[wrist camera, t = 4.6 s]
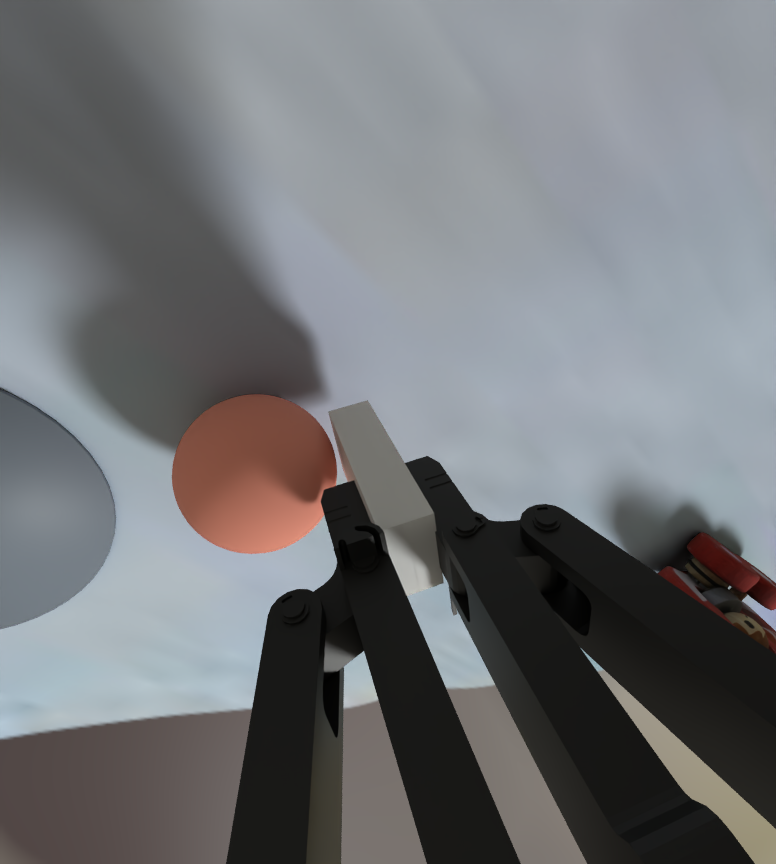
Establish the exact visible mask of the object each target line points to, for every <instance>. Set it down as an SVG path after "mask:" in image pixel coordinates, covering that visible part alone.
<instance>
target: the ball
mask: <svg viewBox="0 0 776 864" xmlns="http://www.w3.org/2000/svg"><path fill="white" fill-rule="evenodd" d="M336 478H337V466H336V458H335V454H334V450H333V447H332V444H331V442H330V440H329V438H328V435H327V434H326V432H325V431H324V429H323V428H322V426H321V425H320V424H319V423H318V421H317V420H316V419H315V418H314V417H313V416H312V415H311V414H309V413H308V412H307V411H306V410H304V409H303V408H301V407H300V406H298V405H296V404H294V403H292V402H290V401H288V400H285V399H282V398H279V397H275V396H271V395H262V394H250V395H242V396H237V397H234V398H230V399H227V400H224V401H222V402H220V403H218V404H216V405H214V406H212V407H211V408H209V409H208V410H206V411H205V412H204V413H202V414H201V415H200V416H199V417H198V418H197V419H196V420H195V421H194V422H193V423H192V424H191V425H190V426H189V428H188V429H187V431H186V432H185V434H184V435H183V437H182V439H181V441H180V443H179V445H178V447H177V450H176V453H175V457H174V461H173V469H172V484H173V490H174V495H175V498H176V501H177V504H178V507H179V509H180V511H181V512H182V514H183V516H184V517H185V519H186V520H187V522H188V523H189V524H190V525H191V527H192V528H193V529H194V530H195V531H196V532H197V533H198V534H200V535H201V536H202V537H203V538H205V539H206V540H208V541H209V542H211V543H213V544H215V545H216V546H219V547H221V548H224V549H227V550H230V551H234V552H239V553H249V554H255V553H266V552H272V551H276V550H279V549H282V548H285V547H287V546H289V545H291V544H293V543H295V542H296V541H298V540H300V539H301V538H303V537H304V536H305V535H306V534H308V533H309V532H310V531H311V530H312V529H313V528H314V527H315V526H316V525H317V524H318V523H319V522H320V520H321V519H322V517H323V516H324V512H323V508H322V505H321V498H322V495H323V491H324V489H328V488H331V487H334V486H336Z"/></svg>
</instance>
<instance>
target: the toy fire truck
mask: <svg viewBox="0 0 776 864" xmlns="http://www.w3.org/2000/svg"><path fill="white" fill-rule="evenodd" d="M687 549H688V551H689V552H690V553H691V554H692V555H693V556H694V557H693V558H692V559H690V560H688V563H687V564H686V565H685V568H686V569H687V570H688V571H686V570H685V571H679V570H677V569H675V568H673V567H670V566H667V567H665V568H664V569H663V570H661V571H660V572H659V573H658V574H659V575H660V576H662V577H663V578H665V579H666V580H667V581H669V582H670V583H672V584H673V585H675V586H676V587H678V588H679V589H681V590H682V591H684V592H685V593H687V594H688V595H689V596H691V597H692V598H694V599H695V600H697V601H698V602H700V603H701V604H703V605H704V606H706V607H707V608H709V609H710V610H711V611H713V612H714V613H716V614H717V615H719V616H720V617H722V618H723V619H725V620H726V621H728V622H729V623H731V624H732V625H733V626H735V627H736V628H738V629H739V630H741V631H742V632H744V633H745V634H747V635H748V636H750V637H751V638H753V639H754V640H755V641H757V642H758V643H760V644H761V645H763V646H764V647H766V648H767V649H769V650H770V651H772V652H773V653H775V654H776V631H775V630H774V629H773V628H772V627H771V626H770V625H768V624H767V623H766V622H765V621H764V620H763V619H762V618H761V617H760V616H759V615H758V614H757V613H756V612H754V611H753V610H752V609H751V608H750V607H749V606H748V605H746V604H745V603H744V602H742V600H743V599H744V598H745V597H746V596H747V594H748V595H749V596H750V597H751V598H753V599H754V600H755V601H757V602H758V603H760V604H761V605H762V606H764V607H765V608H767V609H769V610H774V609H776V583H775V582H774V581H772V580H771V579H770V578H769V577H767V576H766V575H765V574H764V573H762V572H761V571H760V570H758V569H757V568H756V567H754V566H753V565H752V564H750V563H749V562H747V561H746V560H744V559H743V558H742V557H740V556H738V555H737V554H734V553H732V552H731V551H730V550H729V549H727V548H726V547H725V546H723V545H722V544H721V543H719V542H718V541H717V540H715V539H714V538H713V537H711V536H710V535H708V534H706V533H704V532H701V533H699V534H698V535H697V536H695V537H694V538H693V539H692V540H691V541H690V542H689V543H688V545H687ZM729 586H731V588H730V589H728V587H729Z"/></svg>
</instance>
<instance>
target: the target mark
mask: <svg viewBox="0 0 776 864" xmlns="http://www.w3.org/2000/svg"><path fill="white" fill-rule="evenodd" d="M115 523H116V515H115V505H114V500H113V497H112V493H111V490H110V487H109V484H108V482H107V480H106V478H105V476H104V474H103V472H102V470H101V469H100V467H99V466H98V464H97V463H96V461H95V460H94V458H93V457H92V456H91V454H90V453H89V452H88V451H87V450H86V449H85V447H84V446H83V445H82V444H81V443H80V442H79V441H78V440H77V439H76V438H75V437H74V436H73V435H72V434H71V433H70V432H68V431H67V430H66V429H65V428H64V427H63V426H61V425H60V424H59V423H58V422H57V421H55V420H54V419H52V418H51V417H49V416H48V415H46V414H45V413H43V412H42V411H41V410H39V409H38V408H36V407H34V406H33V405H31V404H29V403H27V402H25V401H23V400H21V399H20V398H18V397H16V396H14V395H12V394H10V393H8V392H6V391H3V390H1V389H0V629H3V628H7V627H11V626H15V625H18V624H21V623H23V622H26V621H29V620H32V619H34V618H37V617H39V616H41V615H43V614H45V613H47V612H50V611H52V610H54V609H55V608H57V607H59V606H60V605H62V604H63V603H65V602H67V601H68V600H70V599H71V598H72V597H74V596H75V595H76V594H77V593H79V592H80V591H81V590H82V589H83V588H84V587H85V586H86V585H87V584H88V583H89V582H90V581H91V580H92V579H93V578H94V577H95V575H96V574H97V573H98V571H99V570H100V568H101V567H102V566H103V564H104V562H105V560H106V558H107V556H108V554H109V552H110V548H111V545H112V541H113V538H114V534H115Z"/></svg>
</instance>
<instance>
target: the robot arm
mask: <svg viewBox="0 0 776 864" xmlns="http://www.w3.org/2000/svg"><path fill="white" fill-rule="evenodd" d="M328 413H329V416H330V420H331V424H332V428H333V432H334V436H335V440H336V443H337V447H338V451H339V455H340V459H341V463H342V467H343V471H344V473H345V476H346V478H347V481H348V482H347V483H343V484H340V485H337V486H334V487H331V488H328V489H324V491H323V495H322V498H321V505H322V508H323V512H324V515H325V519H326V522H327V526H328V529H329V532H330V536H331V539H332V543H333V546H334V551H335V555H336V558H337V567H336V570H335V572H334V574H333V576H332V577H331V578H330V579H329V581H327V582H326V583H325V584H324V585H323V586H321V587H320V588H318V589H317V590H315V591H314V592H312V591H310V590H308V589H296V590H293V591H290V592H287V593H286V594H284V595H283V596H281V597H280V598H278V599H277V600H276V602H275V603H274V604H273V605H272V606H271V609H270V612H269V614H268V618H267V624H266V630H265V636H264V642H263V648H262V654H261V660H260V666H259V672H258V678H257V684H256V690H255V696H254V702H253V708H252V713H251V719H250V725H249V731H248V737H247V743H246V749H245V755H244V761H243V767H242V773H241V779H240V785H239V791H238V797H237V803H236V808H235V815H234V821H233V826H232V832H231V838H230V845H229V850H228V856H227V862H226V864H341V832H342V831H341V830H342V829H341V828H342V762H343V761H342V760H343V695H344V666H345V665H346V664H347V663H349V662H350V661H351V660H353V659H354V658H355V657H356V656H358V655H359V654H360V653H362V652H363V651H364V652H365V655H366V659H367V662H368V666H369V669H370V672H371V676H372V679H373V683H374V686H375V689H376V693H377V696H378V699H379V703H380V706H381V710H382V713H383V716H384V720H385V723H386V727H387V730H388V733H389V737H390V740H391V743H392V747H393V750H394V754H395V757H396V760H397V764H398V767H399V771H400V774H401V777H402V780H403V784H404V787H405V791H406V794H407V798H408V801H409V804H410V808H411V811H412V814H413V818H414V821H415V825H416V828H417V831H418V835H419V838H420V842H421V845H422V848H423V852H424V855H425V858H426V862H427V864H521V863H520V861H519V859H518V857H517V854H516V852H515V849H514V847H513V845H512V843H511V840H510V838H509V836H508V833H507V831H506V829H505V826H504V824H503V821H502V819H501V817H500V814H499V812H498V810H497V807H496V805H495V802H494V800H493V798H492V795H491V793H490V791H489V789H488V786H487V784H486V781H485V779H484V777H483V774H482V772H481V770H480V767H479V765H478V763H477V760H476V758H475V755H474V753H473V751H472V748H471V746H470V744H469V741H468V739H467V737H466V734H465V732H464V730H463V727H462V725H461V722H460V720H459V718H458V715H457V713H456V711H455V708H454V706H453V704H452V702H451V699H450V697H449V694H448V692H447V690H446V687H445V685H444V682H443V680H442V678H441V675H440V673H439V671H438V668H437V666H436V664H435V661H434V659H433V657H432V654H431V652H430V650H429V647H428V645H427V643H426V640H425V638H424V635H423V633H422V631H421V628H420V626H419V624H418V621H417V619H416V617H415V614H414V612H413V610H412V607H411V605H410V603H409V600H408V598H407V596H409V595H412V594H414V593H417V592H420V591H423V590H425V589H428V588H431V587H434V586H437V585H439V584H442V583H444V582H443V575H442V572H443V574H444V576H445V578H446V580H447V582H448V584H449V592H450V599H451V607H452V612H453V615H456V614H457V611H458V612H459V614H460V616H461V618H462V620H463V622H464V624H465V626H466V628H467V630H468V632H469V634H470V636H471V638H472V640H473V642H474V644H475V646H476V648H477V650H478V651H479V653H480V655H481V657H482V659H483V661H484V663H485V665H486V667H487V669H488V671H489V673H490V675H491V677H492V679H493V681H494V683H495V685H496V687H497V688H498V691H499V692H500V694H501V696H502V698H503V700H504V702H505V704H506V706H507V708H508V710H509V712H510V714H511V716H512V718H513V720H514V722H515V724H516V725H517V728H518V730H519V731H520V733H521V735H522V737H523V739H524V741H525V743H526V745H527V747H528V749H529V751H530V753H531V755H532V757H533V759H534V761H535V763H536V764H537V767H538V768H539V770H540V772H541V774H542V776H543V778H544V780H545V782H546V784H547V786H548V788H549V790H550V792H551V794H552V796H553V798H554V800H555V802H556V803H557V806H558V807H559V809H560V811H561V813H562V815H563V817H564V819H565V821H566V823H567V825H568V827H569V829H570V831H571V833H572V835H573V837H574V839H575V841H576V843H577V845H578V846H579V848H580V850H581V852H582V854H583V856H584V858H585V860H586V862H587V864H755V863H754V862H753V861H752V859H751V858H750V857H749V855H748V854H747V852H746V851H745V850H744V849H743V847H742V846H741V844H740V843H739V842H738V840H737V839H736V838H735V836H734V835H733V834H732V832H731V831H730V830H729V829H728V828H727V826H726V825H725V824H724V823H723V822H722V820H721V819H719V817H718V816H717V815H716V814H715V813H714V812H713V811H711V810H710V809H709V808H708V807H707V806H705V805H703V804H701V803H699V802H697V801H695V800H692V799H691V798H690V797H689V796H688V795H687V794H685V792H684V791H683V790H682V789H681V787H680V786H679V785H678V784H677V782H676V781H675V779H674V778H673V777H672V775H671V774H670V773H669V771H668V770H667V768H666V767H665V766H664V764H663V763H662V761H661V760H660V759H659V758H658V756H657V754H656V753H655V752H654V750H653V749H652V747H651V746H650V745H649V743H648V742H647V741H646V739H645V738H644V736H643V735H642V733H641V732H640V731H639V729H638V728H637V726H636V725H635V724H634V722H633V721H632V719H631V718H630V717H629V715H628V714H627V713H626V711H625V710H624V708H623V707H622V706H621V704H620V703H619V701H618V700H617V699H616V697H615V696H614V695H613V693H612V692H611V690H610V689H609V687H608V686H607V685H606V683H605V682H604V681H603V679H602V678H601V676H600V675H599V673H598V672H597V671H596V669H595V668H594V666H593V665H592V664H591V662H590V661H589V660H588V658H587V657H586V655H585V654H584V653H583V651H582V650H581V649H583V650H584V651H585V652H586V653H587V654H588V655H589V656H590V657H591V658H592V659H593V660H594V661H595V662H597V663H598V664H599V665H600V666H601V667H602V668H603V669H604V670H605V671H606V672H608V674H610V675H611V676H612V677H613V678H614V679H615V680H616V681H617V682H618V683H619V684H620V685H621V686H622V687H624V688H625V689H626V690H627V691H628V692H629V693H630V694H631V695H632V696H633V697H634V698H636V700H638V701H639V702H640V703H641V704H642V705H643V706H644V707H645V708H646V709H647V710H648V711H649V712H650V713H652V714H653V715H654V716H655V717H656V718H657V719H658V720H659V721H660V722H661V723H662V724H663V725H665V726H666V727H667V728H668V729H669V730H670V731H671V732H672V733H673V734H674V735H675V736H676V737H677V738H679V739H680V740H681V741H682V742H683V743H684V744H685V745H686V746H687V747H688V748H689V749H691V751H693V752H694V753H695V754H696V755H697V756H698V757H699V758H700V759H701V760H702V761H703V762H704V763H706V764H707V765H708V766H709V767H710V768H711V769H712V770H713V771H714V772H715V773H716V774H717V775H718V776H720V777H721V778H722V779H723V780H724V781H725V782H726V783H727V784H728V785H729V786H730V787H731V788H732V789H734V790H735V791H736V792H737V793H738V794H739V795H740V796H741V797H742V798H743V799H744V800H745V801H746V802H748V803H749V804H750V805H751V806H752V807H753V808H754V809H755V810H756V811H757V812H758V813H759V814H761V815H762V816H763V817H764V818H765V819H766V820H767V821H768V822H769V823H770V824H771V825H772V826H773V827H774V828H776V654H775V653H773V652H772V651H770V650H769V649H767V648H766V647H764V646H763V645H761V644H760V643H758V642H757V641H755V640H754V639H753V638H751V637H750V636H748V635H747V634H745V633H744V632H742V631H741V630H739V629H738V628H736V627H735V626H733V625H732V624H731V623H729V622H728V621H726V620H725V619H723V618H722V617H720V616H719V615H717V614H716V613H714V612H713V611H711V610H710V609H709V608H707V607H706V606H704V605H703V604H701V603H700V602H698V601H697V600H695V599H694V598H692V597H691V596H689V595H688V594H687V593H685V592H684V591H682V590H681V589H679V588H678V587H676V586H675V585H673V584H672V583H670V582H669V581H667V580H666V579H665V578H663V577H662V576H660V575H659V574H657V573H656V572H654V571H653V570H651V569H650V568H648V567H647V566H645V565H644V564H643V563H641V562H640V561H638V560H637V559H635V558H634V557H632V556H631V555H629V554H628V553H626V552H625V551H623V550H622V549H621V548H619V547H618V546H616V545H615V544H613V543H612V542H610V541H609V540H607V539H606V538H604V537H603V536H601V535H600V534H599V533H597V532H596V531H594V530H593V529H591V528H590V527H588V526H587V525H585V524H584V523H582V522H581V521H579V520H578V519H577V518H575V517H574V516H572V515H571V514H569V513H568V512H566V511H565V510H563V509H561V508H559V507H557V506H553V505H547V504H542V505H535V506H532V507H529V508H528V509H526V510H525V511H524V512H523V513H522V516H521V519H520V520H517V521H504V522H502V521H491V520H488V519H487V518H486V517H485V516H483V515H482V514H480V513H477V512H475V511H473V510H472V509H471V507H470V506H469V504H468V503H467V502H466V500H465V499H464V497H463V496H462V494H461V493H460V491H459V490H458V489H457V487H456V486H455V484H454V483H453V482H452V480H451V479H450V477H449V476H448V474H446V471H445V470H444V469H443V467H442V466H441V464H440V463H439V462H437V461H435V460H434V459H432V458H430V457H428V456H426V457H423V458H420V459H416V460H413V461H410V462H407V463H404V461H403V459H402V458H401V456H400V454H399V453H398V451H397V449H396V448H395V446H394V444H393V442H392V441H391V439H390V437H389V436H388V434H387V432H386V431H385V429H384V427H383V425H382V424H381V422H380V420H379V419H378V417H377V415H376V414H375V412H374V410H373V409H372V407H371V405H370V403H369V402H368V400H367V401H364V402H360V403H357V404H353V405H350V406H346V407H343V408H339V409H336V410H333V411H329V412H328ZM456 609H457V610H456Z"/></svg>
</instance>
